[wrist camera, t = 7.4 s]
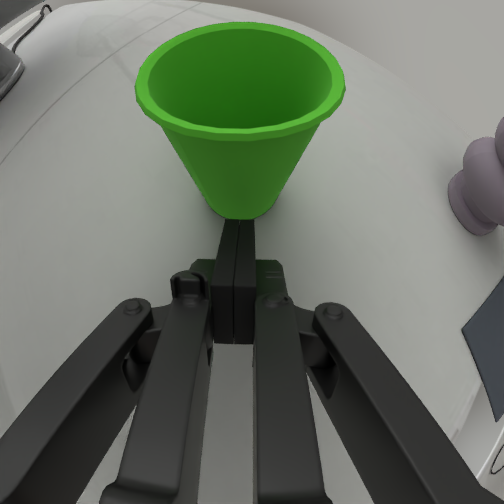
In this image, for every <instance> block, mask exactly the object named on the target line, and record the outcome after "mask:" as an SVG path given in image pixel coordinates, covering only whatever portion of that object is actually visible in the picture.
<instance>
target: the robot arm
mask: <svg viewBox="0 0 504 504" xmlns="http://www.w3.org/2000/svg"><path fill="white" fill-rule="evenodd" d="M44 1H45V0H0V29H1V28H2V27H3V26H5V25H6V24H7V23H9V22H11V21H12V20H14V19H15V18H17V17H18V16H20V15H21V14H23V13H24V12H26V11H28V10H29V9H31V8H33V7H34V6H36V5H38V4H39V3H41V2H44ZM45 7H47V8H48V9H49V11H50V13H51V12H52V9H51V7H50V6H49V5H47V4H46V5H44V6H43V8H42V10H41V12H40V14H41V17H40V18H39V20H38V21H37V22H36V23H35V24H34V25H33V26H32V27H31V28H30V29H29V30H28V31H26V32H25V33H24V34H23V35H22V36H21V37H20V38H19V39H18V40H17V41H16V43H15V44H14V46H13V48H12V51H10V50H9V49H8V48H6V47H5V46H4V45H2V44H1V43H0V100H1V99H2V98H3V97H4V96H5V94H6V93H7V92H8V91H9V90H10V89H11V88H12V86H13V85H14V84H15V83H16V81H17V80H18V78H19V77H20V75H21V74H22V72H23V70H24V64H23V62H22V60H21V58H20V57H19V56H17V55H16V54H15V53H14V52H15V48H16V46H17V44H18V43H19V42H20V41H21V40H22V39H23V38H24V37H25V36H26V35H27V34H28V33H29V32H30V31H31V30H32V29H33V28H34V27H35V26H36V25H37V24H38V23H39V22H40V21H41V20H42V18H43V17H44V13H43V11H44V8H45ZM239 221H240V225H239ZM170 282H171V290H172V297H173V300H172V302H171V304H169V305H166V306H161V307H155V308H151V304H150V303H149V302H148V301H147V300H145V299H142V298H132V299H128V300H125V301H123V302H122V303H120V304H119V305H118V306H117V307H116V308H115V309H114V310H113V311H112V312H111V313H110V314H109V315H108V316H107V317H106V318H105V319H104V320H103V321H102V322H101V323H100V324H99V325H98V326H97V327H96V328H95V330H94V331H93V332H92V333H91V334H90V335H89V336H88V337H87V338H86V339H85V340H84V341H83V342H82V343H81V344H80V346H79V347H78V348H77V349H76V350H75V351H74V352H73V353H72V354H71V355H70V356H69V358H68V359H67V360H66V361H65V362H64V363H63V364H62V365H61V366H60V368H59V369H58V370H57V371H56V372H55V373H54V374H53V376H52V377H51V378H50V379H49V380H48V381H47V382H46V384H45V385H44V386H43V387H42V388H41V389H40V391H39V392H38V393H37V394H36V395H35V396H34V398H33V399H32V400H31V401H30V402H29V404H28V405H27V406H26V407H25V409H24V410H23V411H22V412H21V413H20V415H19V416H18V417H17V418H16V420H15V421H14V422H13V423H12V425H11V426H10V427H9V429H8V430H7V431H6V432H5V434H4V435H3V436H2V438H1V439H0V504H76V502H77V501H78V499H79V497H80V496H81V494H82V492H83V491H84V489H85V487H86V486H87V484H88V482H89V481H90V479H91V477H92V476H93V474H94V472H95V471H96V469H97V468H98V466H99V464H100V463H101V461H102V459H103V458H104V456H105V454H106V453H107V451H108V450H109V448H110V446H111V445H112V443H113V441H114V440H115V438H116V437H117V435H118V433H119V432H120V430H121V428H122V427H123V425H124V424H125V422H126V420H127V419H128V417H129V416H130V414H131V412H132V411H133V409H134V408H135V406H136V404H137V407H136V410H135V413H134V417H133V420H132V424H131V427H130V431H129V434H128V438H127V442H126V445H125V449H124V453H123V457H122V460H121V464H120V468H119V472H118V476H117V478H116V480H115V482H113V483H111V484H109V485H107V486H106V488H105V489H104V490H103V492H102V495H101V498H100V501H99V504H197V499H198V488H199V477H200V467H201V456H202V447H203V437H204V428H205V419H206V410H207V401H208V393H209V384H210V376H211V368H212V360H213V337H214V343H219V344H253V365H252V367H253V504H333V503H332V501H331V500H330V499H329V498H328V497H327V495H326V493H325V489H324V482H323V475H322V468H321V461H320V454H319V448H318V441H317V435H316V428H315V422H314V416H313V410H312V404H311V398H310V392H309V386H308V380H307V374H308V376H309V378H310V380H311V382H312V384H313V386H314V388H315V390H316V392H317V394H318V396H319V398H320V400H321V402H322V404H323V406H324V407H325V409H326V411H327V413H328V415H329V417H330V419H331V421H332V423H333V425H334V427H335V429H336V431H337V433H338V435H339V437H340V438H341V440H342V442H343V444H344V446H345V448H346V450H347V452H348V454H349V456H350V458H351V460H352V462H353V464H354V465H355V467H356V469H357V471H358V473H359V475H360V477H361V479H362V481H363V483H364V485H365V487H366V488H367V490H368V492H369V494H370V496H371V498H372V500H373V502H374V504H504V501H503V500H502V499H500V498H499V497H497V496H495V495H494V494H492V493H491V492H489V491H488V490H486V489H485V488H483V487H482V486H481V485H480V484H479V482H478V481H477V479H476V478H475V476H474V475H473V473H472V472H471V470H470V469H469V467H468V466H467V464H466V463H465V461H464V460H463V459H462V457H461V456H460V454H459V453H458V451H457V450H456V448H455V447H454V446H453V444H452V443H451V441H450V440H449V439H448V437H447V436H446V434H445V433H444V432H443V430H442V429H441V427H440V426H439V425H438V423H437V422H436V421H435V419H434V418H433V416H432V415H431V414H430V412H429V411H428V410H427V408H426V407H425V406H424V404H423V403H422V402H421V400H420V399H419V398H418V396H417V395H416V394H415V392H414V391H413V390H412V388H411V387H410V386H409V384H408V383H407V382H406V380H405V379H404V378H403V377H402V375H401V374H400V373H399V371H398V370H397V369H396V368H395V366H394V365H393V364H392V362H391V361H390V360H389V359H388V357H387V356H386V355H385V353H384V352H383V351H382V350H381V348H380V347H379V346H378V345H377V343H376V342H375V341H374V340H373V338H372V337H371V336H370V335H369V333H368V332H367V331H366V330H365V328H364V327H363V326H362V325H361V324H360V322H359V321H358V320H357V319H356V317H355V316H354V315H353V314H352V313H351V311H350V310H349V309H348V308H346V307H345V306H343V305H341V304H338V303H333V302H328V303H322V304H319V305H318V306H317V307H316V308H315V311H310V310H306V309H302V308H299V307H297V306H295V305H294V304H293V301H292V299H291V298H290V297H289V296H288V293H287V288H286V283H285V278H284V273H283V268H282V265H281V264H280V263H279V262H278V261H277V260H255V229H254V220H245V219H225V223H224V227H223V232H222V236H221V240H220V244H219V249H218V253H217V257H216V259H197V260H196V261H195V262H194V263H193V264H192V265H191V267H190V270H186V271H182V272H178V273H176V274H175V275H173V276H172V277H171V279H170ZM306 372H307V374H306Z"/></svg>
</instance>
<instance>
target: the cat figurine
mask: <svg viewBox="0 0 504 504" xmlns="http://www.w3.org/2000/svg"><path fill="white" fill-rule="evenodd" d="M448 196H449V201H450V204H451V206H452V209H453V212H454V213H455V215H456V216H457V218H458V220H459V221H460V222H461V224H462V225H463V226H464V227H465V228H466V229H467V230H469V231H470V232H471V233H473V234H476V235H479V236H481V235H486V234H487V233H489V232H490V231H492V230H494V229H495V228H496V227H497V226H498V224H499V225H502V226H504V117H503V118H502V119H501V121H500V122H499V124H498V127H497V130H496V134H495V138H492V137H482V138H480V139H477V140H475V141H473V142H472V143H470V145H469V146H468V148H467V150H466V152H465V154H464V157H463V170H461V171H459V172H458V173H457V174H456V175H455V176H454V177H453V178H452V179H451V181H450V183H449V185H448Z"/></svg>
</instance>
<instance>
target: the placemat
mask: <svg viewBox="0 0 504 504" xmlns="http://www.w3.org/2000/svg"><path fill="white" fill-rule="evenodd" d="M461 330H462V332H463V334H464V337H465V339H466V341H467V343H468V346H469V348H470V350H471V353H472V355H473V358H474V360H475V363H476V365H477V368H478V370H479V373H480V376H481V378H482V381H483V384H484V387H485V389H486V392H487V395H488V398H489V401H490V404H491V408H492V411H493V415H494V418H495V422H497V421H498V420H499V419H500V418H501V416H502V415H503V414H504V277H503V278H502V280H501V281H500V282H499V284H498V285H497V286H496V288H495V289H494V290H493V292H492V293H491V294H490V296H489V297H488V298H487V300H486V301H485V302H484V303H483V305H482V306H481V307H480V308H479V310H478V311H477V312H476V313H475V314H474V316H473V317H472V318H471V319H470V320H469V321H468V323H467V324H466V325H465V326H464V327H463V328H462V329H461Z"/></svg>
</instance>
